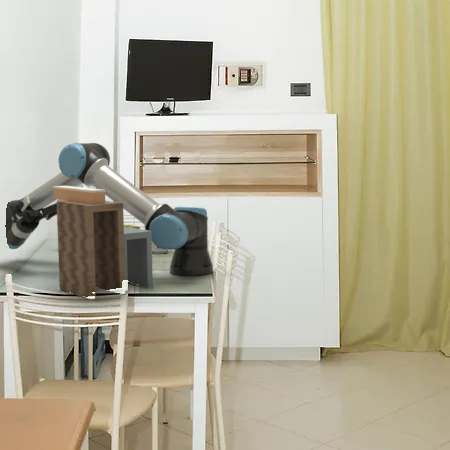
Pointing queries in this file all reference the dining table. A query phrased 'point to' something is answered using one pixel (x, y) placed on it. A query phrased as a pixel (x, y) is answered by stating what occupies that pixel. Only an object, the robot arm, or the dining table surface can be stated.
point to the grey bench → (138, 256)
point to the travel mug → (158, 249)
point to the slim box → (79, 194)
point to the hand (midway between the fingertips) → (47, 197)
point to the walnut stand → (90, 246)
